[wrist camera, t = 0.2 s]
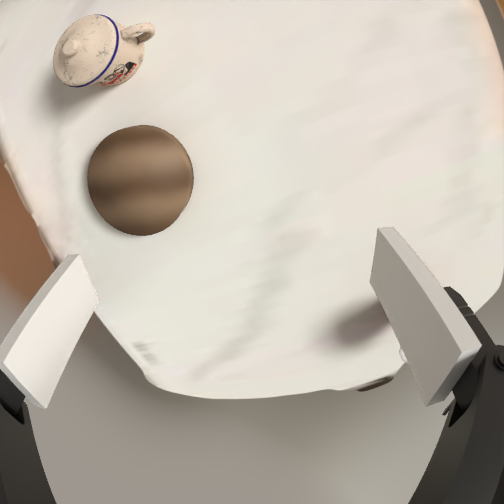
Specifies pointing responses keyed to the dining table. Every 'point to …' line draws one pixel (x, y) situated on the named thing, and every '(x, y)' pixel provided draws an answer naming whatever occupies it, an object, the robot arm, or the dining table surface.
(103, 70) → the teacup with lid
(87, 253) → the dining table surface
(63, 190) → the dining table surface
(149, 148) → the brown round disc
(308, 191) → the dining table surface
